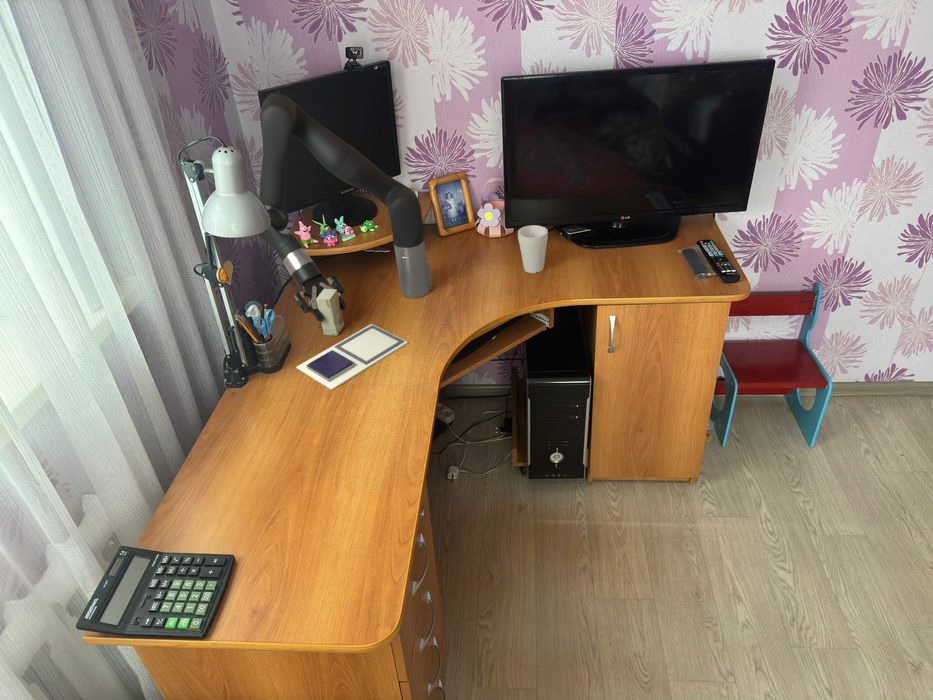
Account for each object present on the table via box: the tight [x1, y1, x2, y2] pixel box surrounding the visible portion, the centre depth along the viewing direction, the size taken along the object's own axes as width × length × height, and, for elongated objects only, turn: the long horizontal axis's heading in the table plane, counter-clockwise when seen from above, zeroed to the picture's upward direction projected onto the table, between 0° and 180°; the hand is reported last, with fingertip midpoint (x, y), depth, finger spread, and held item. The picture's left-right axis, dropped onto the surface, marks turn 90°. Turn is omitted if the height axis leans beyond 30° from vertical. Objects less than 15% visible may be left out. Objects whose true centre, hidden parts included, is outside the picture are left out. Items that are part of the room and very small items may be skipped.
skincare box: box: [316, 288, 345, 336], centre depth 202 cm, size 6×4×12 cm
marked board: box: [296, 323, 409, 391], centre depth 194 cm, size 27×16×1 cm, turn 136°
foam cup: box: [517, 224, 549, 274], centre depth 223 cm, size 10×9×13 cm
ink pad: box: [306, 350, 356, 382], centre depth 189 cm, size 9×10×2 cm
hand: (333, 314), depth 202 cm, fingers closed on skincare box, 7 cm apart
